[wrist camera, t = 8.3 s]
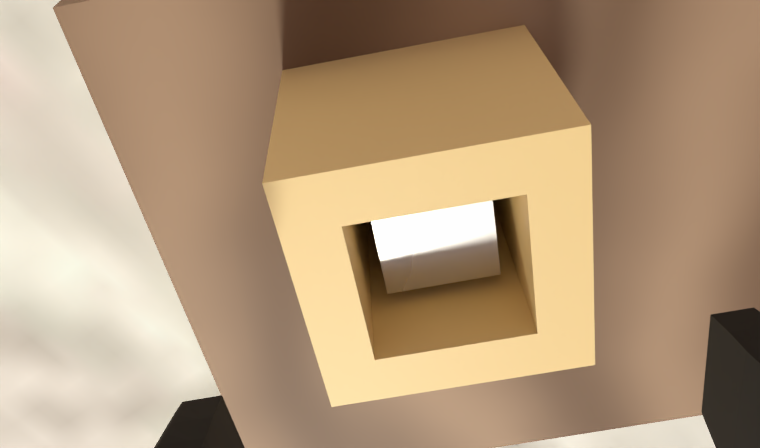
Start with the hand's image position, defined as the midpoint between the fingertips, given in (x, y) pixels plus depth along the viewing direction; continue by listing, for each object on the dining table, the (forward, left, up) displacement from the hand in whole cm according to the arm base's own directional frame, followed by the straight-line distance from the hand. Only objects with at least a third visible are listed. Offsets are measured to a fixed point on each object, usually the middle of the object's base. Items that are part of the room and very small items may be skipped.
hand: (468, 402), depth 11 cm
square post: (0, 0, -8) cm, 8 cm away
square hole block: (0, 0, -8) cm, 8 cm away
